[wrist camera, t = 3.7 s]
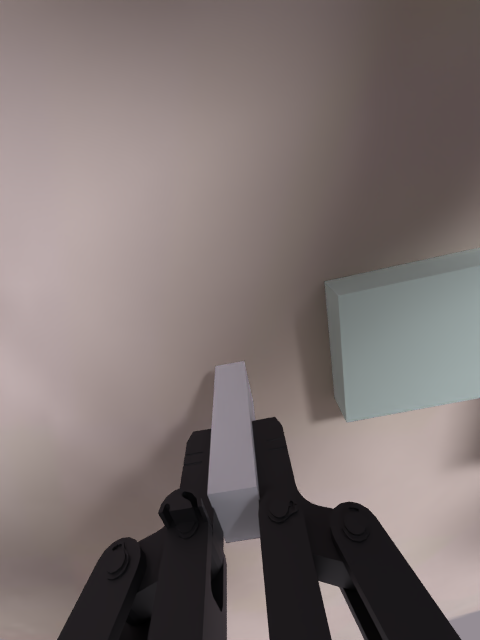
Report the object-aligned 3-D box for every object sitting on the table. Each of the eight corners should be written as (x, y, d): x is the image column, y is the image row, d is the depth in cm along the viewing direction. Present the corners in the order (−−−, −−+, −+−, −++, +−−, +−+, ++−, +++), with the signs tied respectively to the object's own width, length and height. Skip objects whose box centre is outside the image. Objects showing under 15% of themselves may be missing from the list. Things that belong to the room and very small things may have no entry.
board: (321, 278, 15) (338, 295, 13) (538, 231, 14) (597, 240, 12) (332, 393, 18) (346, 422, 16) (506, 359, 18) (546, 385, 15)
